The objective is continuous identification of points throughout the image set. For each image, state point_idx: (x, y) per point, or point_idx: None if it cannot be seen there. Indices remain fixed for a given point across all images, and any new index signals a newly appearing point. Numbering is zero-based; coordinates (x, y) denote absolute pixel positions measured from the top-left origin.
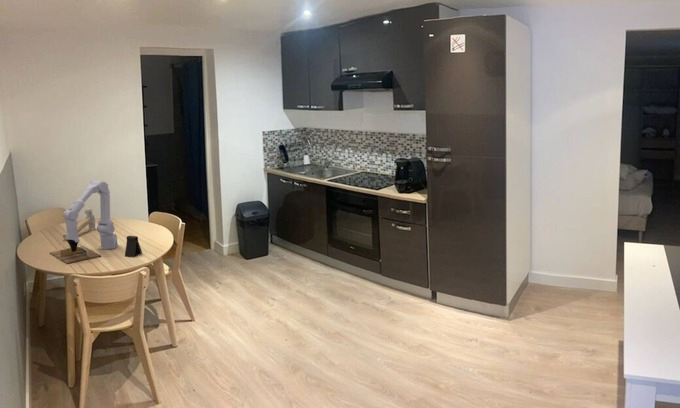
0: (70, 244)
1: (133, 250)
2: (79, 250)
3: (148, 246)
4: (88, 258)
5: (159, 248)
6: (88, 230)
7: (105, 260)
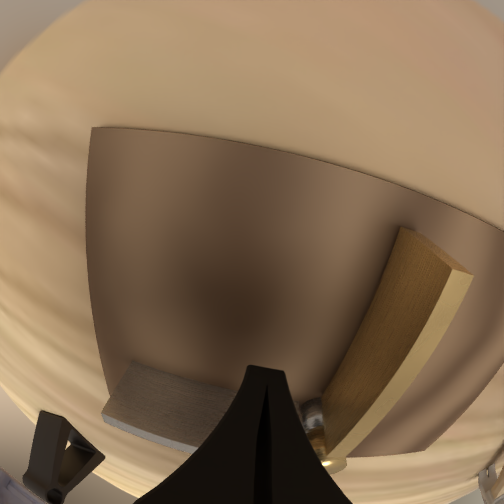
0: (208, 479)
1: (35, 436)
2: (308, 427)
3: None
4: (98, 343)
5: (105, 476)
6: (493, 464)
7: (39, 355)
